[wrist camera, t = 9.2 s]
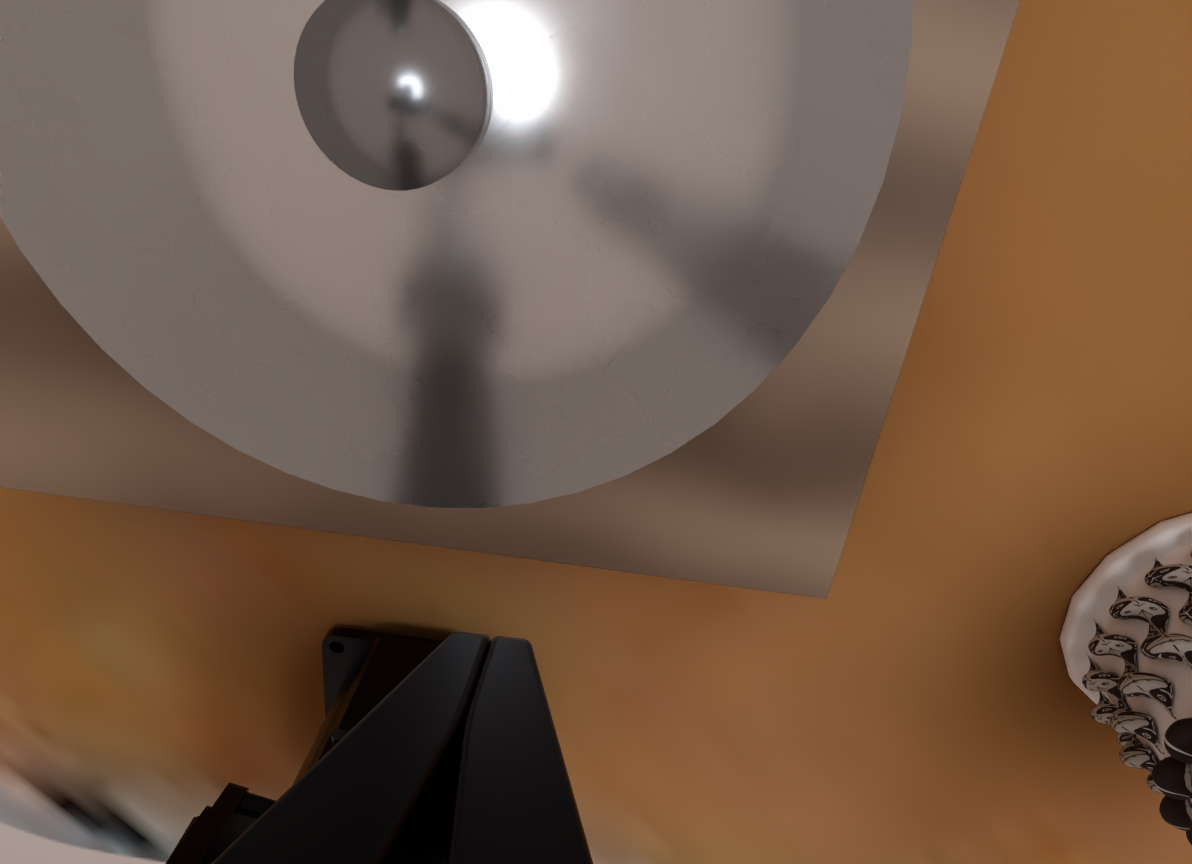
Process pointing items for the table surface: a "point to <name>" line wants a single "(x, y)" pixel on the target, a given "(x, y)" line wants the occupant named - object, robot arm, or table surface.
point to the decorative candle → (1141, 657)
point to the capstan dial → (447, 217)
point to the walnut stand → (613, 509)
